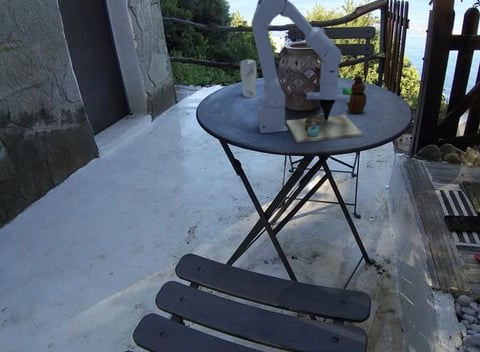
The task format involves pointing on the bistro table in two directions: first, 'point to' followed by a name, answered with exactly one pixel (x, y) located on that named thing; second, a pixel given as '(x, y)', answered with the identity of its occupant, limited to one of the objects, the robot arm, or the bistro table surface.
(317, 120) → the walnut keeper
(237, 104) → the bistro table surface
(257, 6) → the robot arm
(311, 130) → the teal link
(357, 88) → the wooden figurine
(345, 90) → the green block
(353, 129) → the birch plate
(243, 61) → the beer glass
